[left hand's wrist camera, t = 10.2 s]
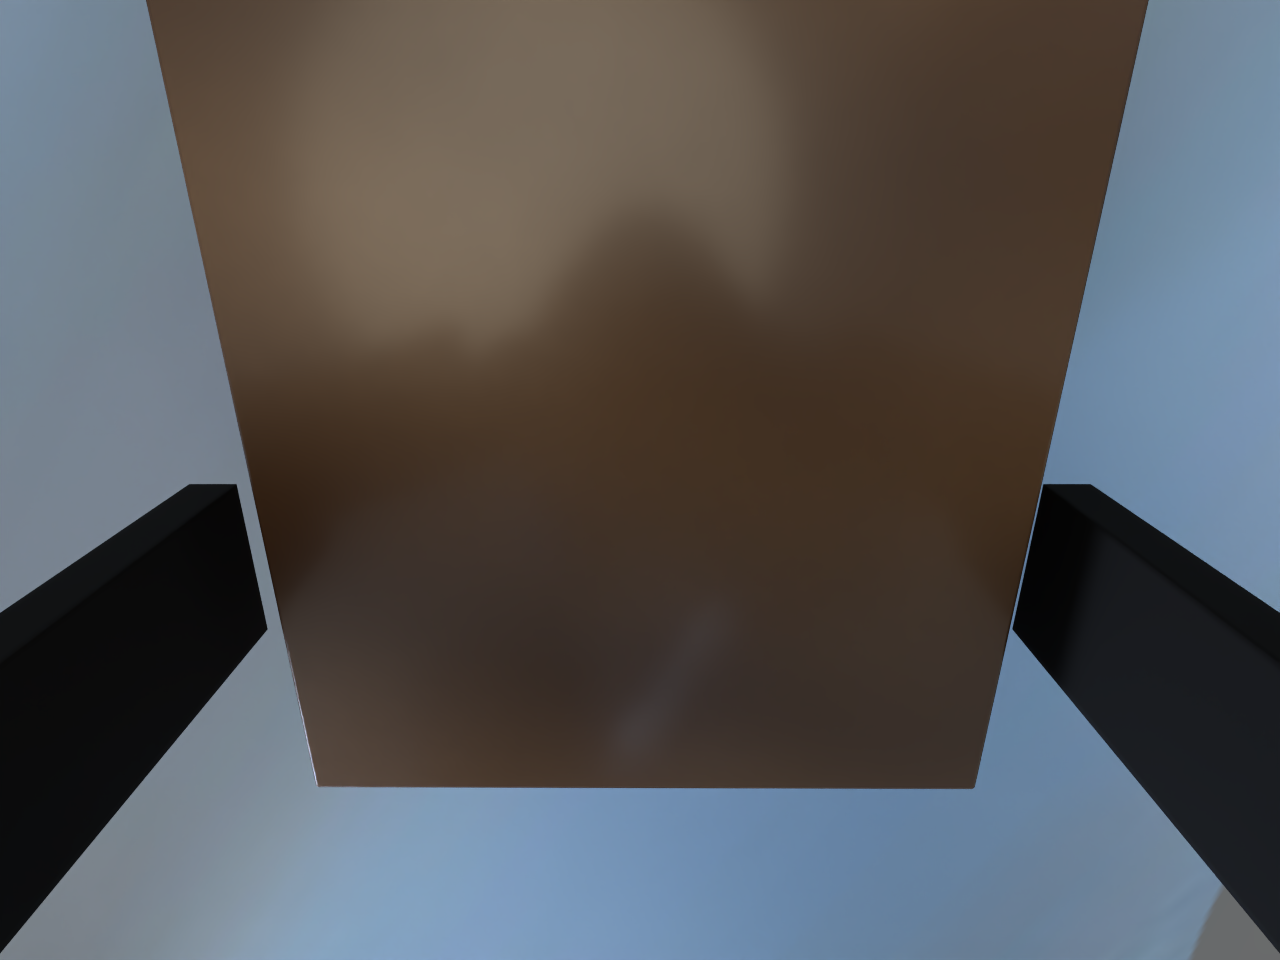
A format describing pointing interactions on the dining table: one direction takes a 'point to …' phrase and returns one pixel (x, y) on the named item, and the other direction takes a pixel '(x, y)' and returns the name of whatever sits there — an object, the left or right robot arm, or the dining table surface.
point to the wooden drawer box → (646, 366)
